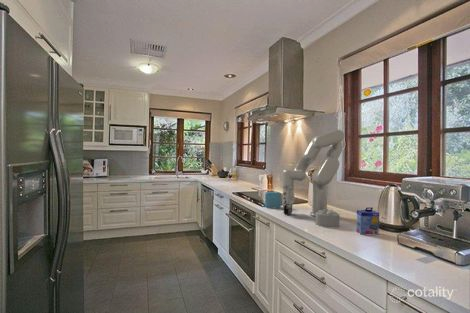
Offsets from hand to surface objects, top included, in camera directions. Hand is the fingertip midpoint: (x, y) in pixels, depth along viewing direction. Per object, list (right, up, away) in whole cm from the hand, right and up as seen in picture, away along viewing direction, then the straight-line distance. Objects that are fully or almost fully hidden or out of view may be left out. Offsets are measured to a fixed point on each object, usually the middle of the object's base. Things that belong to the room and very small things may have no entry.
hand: (287, 212), depth 167 cm
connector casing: (0, -1, 0) cm, 1 cm away
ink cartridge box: (+35, -2, -38) cm, 52 cm away
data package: (-7, -1, +21) cm, 23 cm away
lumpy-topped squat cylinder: (+18, -2, -24) cm, 30 cm away
